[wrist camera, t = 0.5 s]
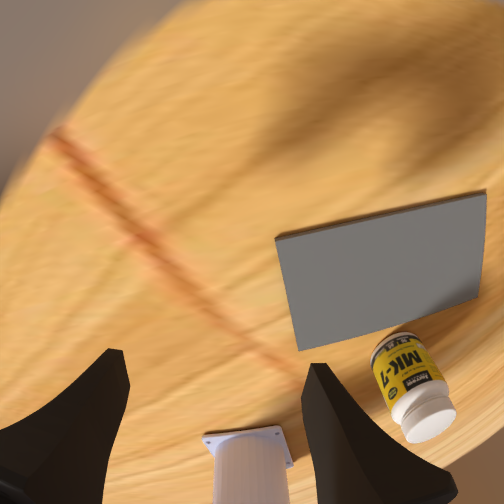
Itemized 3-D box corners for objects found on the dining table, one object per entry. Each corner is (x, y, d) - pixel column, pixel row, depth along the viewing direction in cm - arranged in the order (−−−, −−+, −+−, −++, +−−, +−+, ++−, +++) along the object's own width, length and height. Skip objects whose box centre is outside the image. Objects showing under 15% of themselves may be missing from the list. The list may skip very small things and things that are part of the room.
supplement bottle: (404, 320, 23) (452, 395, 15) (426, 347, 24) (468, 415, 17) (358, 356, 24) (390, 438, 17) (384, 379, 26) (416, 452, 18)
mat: (474, 294, 22) (477, 297, 22) (297, 347, 23) (298, 351, 23) (482, 192, 19) (486, 194, 18) (274, 238, 20) (275, 241, 19)
